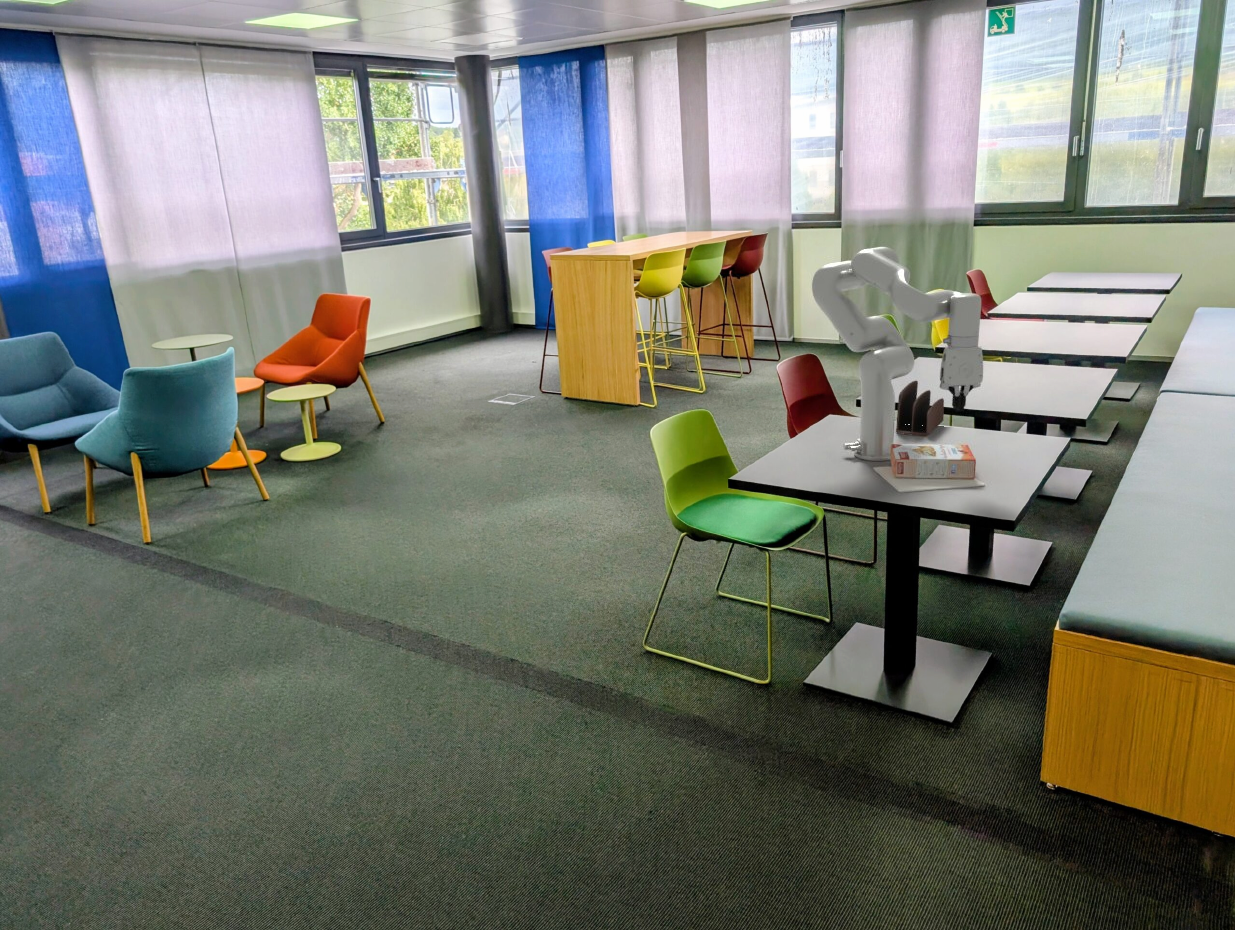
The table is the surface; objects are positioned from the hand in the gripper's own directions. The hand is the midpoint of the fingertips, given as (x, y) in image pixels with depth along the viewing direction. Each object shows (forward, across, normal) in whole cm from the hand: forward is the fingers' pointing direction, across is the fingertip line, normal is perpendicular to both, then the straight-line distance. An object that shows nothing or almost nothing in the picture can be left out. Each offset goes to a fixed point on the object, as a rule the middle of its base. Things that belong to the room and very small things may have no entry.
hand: (958, 409), depth 243 cm
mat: (+19, -8, 0) cm, 20 cm away
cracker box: (+15, +5, +1) cm, 16 cm away
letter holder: (+19, +9, +47) cm, 52 cm away
